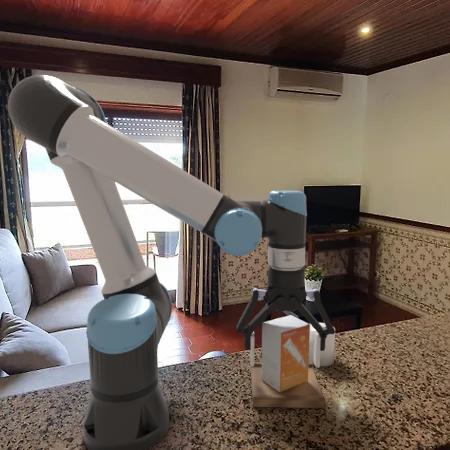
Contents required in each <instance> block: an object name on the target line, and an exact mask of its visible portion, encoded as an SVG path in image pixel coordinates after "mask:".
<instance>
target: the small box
mask: <svg viewBox="0 0 450 450" xmlns="http://www.w3.org/2000/svg"><path fill="white" fill-rule="evenodd" d="M261 324H262V325H261V326H262V327H261V362H262V380H263V381H264V382H266V383H267V384H269V385H270V386H271V387H273V388H274V389H276V390H277V391H278V392H282V391H285V390H287V389H290V388H292V387H294V386H297V385H300V384H302V383H306V382H308V368H309V338H310V323H309V322H306V321H304V320H301V319H300V318H298V317H296V316H294V315H290V314H289V315H286V316H282V317H278V318H277V317H276V318H275V319H271V320H267V321H263V322H262V323H261Z"/></svg>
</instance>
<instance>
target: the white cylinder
mask: <svg viewBox="0 0 450 450" xmlns="http://www.w3.org/2000/svg"><path fill="white" fill-rule="evenodd" d="M318 323H319V324H320V325H321V326H322V327H326V325H325V323H324V322H318ZM309 324H310V323H309ZM333 328H334V330H335V331H336V328H335V327H334V326H333ZM314 332H317V331H316V330H315V329H314V328H313V326H312V325H311V324H310V338H309V363H312V366H315V364H314ZM335 344H336V332H335V333H334V334H329V335H327V338H325V350H324V351H320V367H328V366H331V365H333V364H334V363H335V349H336V347H335V346H336V345H335Z"/></svg>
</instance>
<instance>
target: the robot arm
mask: <svg viewBox="0 0 450 450" xmlns="http://www.w3.org/2000/svg"><path fill="white" fill-rule="evenodd" d="M7 101H8V102H7V110H8V115H9V118H10V120H11V123H12V125H13V127H14V128H15V129H16V130H17V131H18V132H19V134H21V135H22V136H23V137H24V138H25V139H27V140H29V141H32V142H33V143H35V144H37V145H39V146H41V147H43V148H45V151H46V154H47V156H48V158H49V161H50V163H51V164H52V165H54V166H56V167H58V168H60V169H61V170H62V172H63V174H64V177H65V180H66V182H67V184H68V187H69V189H70V191H71V195H72V198H73V200H74V203H75V205H76V208H77V210H78V214H79V215H80V219H81V221H82V223H83V225H84V228H85V231H86V234H87V236H88V239H89V242H90V244H91V246H92V248H93V252H94V254H95V258H96V259H97V262H98V265H99V267H100V269H101V272H102V275H103V277H104V280H105V281H104V285H103V286H102V288H101V294H102V297H103V299H101V300H100V301H98V302H96V303H95V304H94V305H93V306H92V308H91V309H90V310H89V312H88V314H87V315H88V316H87V319H86V320H87V322H86V323H87V325H86V332H85V333H86V338H87V347H88V349H87V350H88V362H89V379H90V391H91V393H90V397H89V401H88V404H87V407H86V411H85V415H84V418H83V424H82V433H83V435H82V437H83V438H82V439H83V442H84V445H85V446H86V447H87V448H88V449H89V450H149V449H151V448H153V447H154V446H156V445H157V444H158V443H160V442H161V441H162V439H164V437H165V436H166V435H167V433H168V431H169V428H170V411H169V410H170V409H169V407H168V405H167V401H166V399H165V397H164V394H163V391H162V389H161V387H160V384H159V366H158V365H159V363H158V347H159V344H160V342H161V339H162V337H163V335H164V333H165V330H166V327H167V326H168V324H169V322H170V320H171V317H172V311H173V309H172V308H173V303H172V302H173V301H172V297H171V293H170V292H169V290H168V288H167V287H165V285H164V284H162V283H161V282H160V280H159V277H158V275H157V272H156V270H155V269H154V268H152V267H149V266H147V265H146V263H145V260H144V257H143V255H142V252H141V250H140V247H139V243H138V242H137V239H136V235H135V233H134V231H133V228H132V224H131V222H130V220H129V217H128V214H127V211H126V209H125V207H124V204H123V200H122V199H121V195H120V192H119V190H118V187H117V184H118V185H120V186H122V187H123V188H125V189H127V190H128V191H130V192H132V193H134V194H135V195H138V196H139V197H141V198H142V199H144V200H146V201H147V202H149V203H151V204H152V205H154V206H155V207H157V208H159V209H160V210H163V211H164V212H166V213H167V214H170V215H171V216H173V217H175V218H176V219H179V220H180V221H181V222H183V223H185V224H186V225H188V226H190V227H192V228H193V229H195V230H197V231H199V232H200V233H201V234H203V235H204V236H206V237H208V238H209V239H211V240H213V241H214V242H215V243H216V244H217V245H218V246H219V247H220V248H221V250H222V251H223V252H225V254H227V255H231V256H234V257H243V256H246V255H249V254H251V253H253V252H254V251H255V250H256V249H257V248H258V247H259V245H260V243H261V242H262V241H261V240H262V239H265V238H266V239H267V240H268V242H267V264H268V265H269V266H268V267H267V286H266V289H259V288H258V287H257V286H254V287H252V290H251V297H250V299H249V301H248V303H247V305H246V307H245V309H244V310H243V312H242V314H241V315H240V318H239V320H238V322H237V323H236V332H237V333H238V334H243V335H244V348H245V350H247V351H250V353H249V360H250V361H249V363H250V364H249V365H250V367H251V366H254V362H255V331H256V330H257V329H258V327H259V326H260V325H261V324H262V323H263V322H265V320H266V319H267V318H268V317H269V315H271V314H273V312H274V311H275V310H276V311H278V312H280V313H281V312H285V311H287V312H289V313H290V312H292V313H293V312H294V311H296V310H297V311H298V312H299V313H300V314H301V315H302V316H303V317H304V318H305V320H306V321H307V323H308V324H311V325H312V326H313V328H314V329H315V330H316V331H317V332H314V364H315V365H314V366H315V368H319V369H320V367H321V366H320V351H324V350H325V338H327V335H329V334H334V333H335V334H336V329H335V330H334V328H335V327H334V326H333V324H332V322H331V319H330V317H329V316H328V313H327V311H326V309H325V307H324V306H323V303H322V299H321V292H320V290H319V289H318V288H317V287H313V288H312V289H306V288H305V277H306V276H305V275H306V269H305V266H306V241H307V239H306V236H307V235H306V234H307V217H308V213H307V211H308V210H307V195H306V194H305V192H303V191H300V190H288V189H287V190H271V191H270V192H269V193H268V198H267V200H261V201H260V200H259V201H258V200H234V199H233V198H231V197H229V196H227V195H225V194H223V192H220V191H218V190H217V189H215V188H214V187H212V186H210V185H209V184H207V183H206V182H204V181H203V180H201V179H199V178H197V177H196V176H194V175H192V174H191V173H189V172H187V171H186V170H184V169H182V168H181V167H179V166H177V165H176V164H174V163H172V162H171V161H169V160H168V159H166V158H164V157H162V156H161V155H159V154H157V152H156V153H155V152H154V151H153V150H151V149H149V148H147V147H146V146H144V145H142V144H141V143H140V142H139V141H138V142H137V141H136V140H134V139H133V138H131V137H129V136H128V135H127V134H124V133H123V132H121V131H120V130H118V129H116V128H115V127H113V126H111V125H110V124H108V123H106V122H107V121H106V116H105V113H104V110H103V109H102V107H101V105H100V104H99V102H98V101H96V99H95V98H94V97H92V95H90V94H89V93H87V92H86V91H85V90H82V89H80V88H78V87H74V86H72V85H70V84H68V83H66V82H64V81H63V80H62V79H59V78H56V77H55V76H51V75H47V74H46V75H45V74H36V75H31V76H28V77H25V78H23V79H22V80H20V81H19V82H18V83H16V85H14V87H13V88H12V89H11V91H10V94H9V96H8V100H7ZM116 183H117V184H116ZM263 297H265V298H266V299H267V300H268V301H267V302H266V303H265V305H264V306H263V307H262V308H261V310H260V311H259V312H258V313H257V314H256V315H255V316H254V317H253V319H251V320H250V318H251V316H252V314H253V312H254V310H255V308H256V307H257V304H258V302H259V301H261V300H262V298H263ZM307 297H308V298H309V299H310V301H313V302H314V304H315V306H316V309H317V311H318V313H319V315H320V317H321V319H322V321H323V323H325V325H326V327H322V326H321V325H320V324H319V323H320V322H319V321H318V320H317V319H316V318H315V317H314V316H313V314H312V313H311V312H310V311H309V310H308V309H307V308H306V306H305V305H304V303H303V302H304V300H305V299H306V298H307ZM249 320H250V322H249ZM247 323H248V324H247ZM333 327H334V328H333Z"/></svg>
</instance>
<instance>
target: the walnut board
mask: <svg viewBox="0 0 450 450" xmlns="http://www.w3.org/2000/svg"><path fill="white" fill-rule="evenodd" d="M250 379H251V380H250V381H251V382H250V383H251V397H252V399H251V401H252V407H253V408H301V409H302V408H303V409H305V408H306V409H307V408H308V409H309V408H310V409H311V408H312V409H324V408H325V399H326V398H325V395H323V392H322V389H321V388H320V384H319V381H318V378H317V377H316V374H315V370H314V369H313V364H312V363H309V368H308V382H306V383H302V384H300V385H297V386H294V387H292V388H290V389H287V390H285V391H282V392H278V391H277V390H276V389H274V388H273V387H271V386H270V385H269V384H267V383H266V382H264V381H263V380H262V361H254V366H250Z"/></svg>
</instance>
